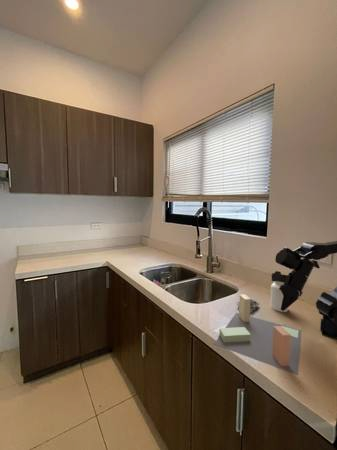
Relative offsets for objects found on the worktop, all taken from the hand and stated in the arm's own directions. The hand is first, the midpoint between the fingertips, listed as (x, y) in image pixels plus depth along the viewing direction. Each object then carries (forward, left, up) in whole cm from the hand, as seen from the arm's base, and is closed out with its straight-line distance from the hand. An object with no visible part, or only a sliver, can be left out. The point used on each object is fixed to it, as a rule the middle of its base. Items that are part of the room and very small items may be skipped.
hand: (282, 310), depth 85 cm
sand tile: (+15, -4, -10) cm, 18 cm away
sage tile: (+10, +10, -8) cm, 16 cm away
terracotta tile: (-2, +17, -10) cm, 19 cm away
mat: (+6, +7, -10) cm, 14 cm away
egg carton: (+16, -16, -11) cm, 25 cm away
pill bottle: (+3, -24, -10) cm, 27 cm away
